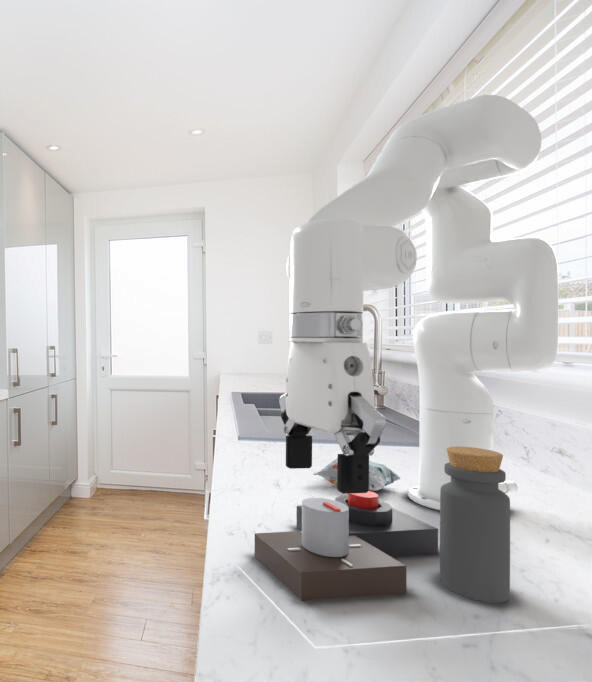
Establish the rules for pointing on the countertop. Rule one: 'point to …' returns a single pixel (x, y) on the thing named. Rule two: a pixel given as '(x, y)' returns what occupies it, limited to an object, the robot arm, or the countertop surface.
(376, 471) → the packaged food
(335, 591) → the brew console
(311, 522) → the dial
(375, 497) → the power button
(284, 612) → the countertop surface
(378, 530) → the push button base
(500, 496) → the bottle
